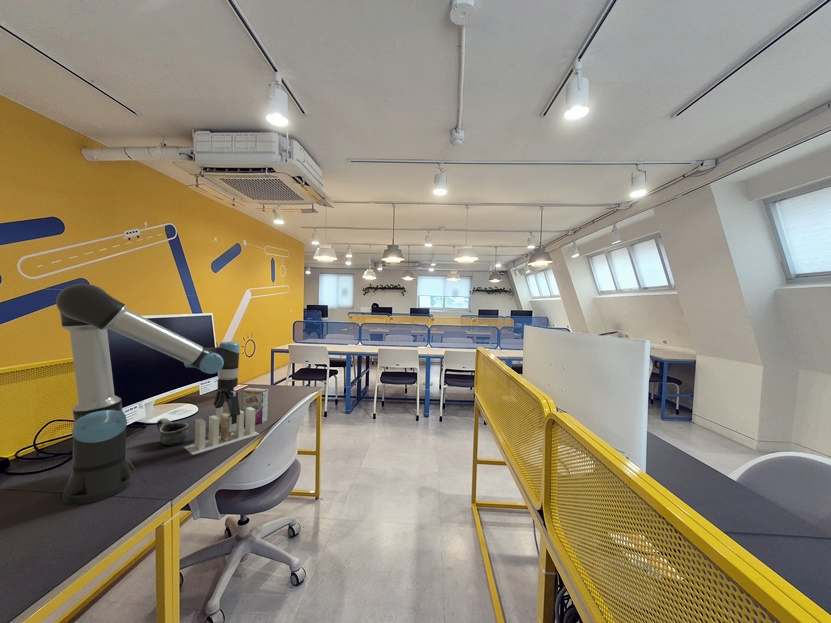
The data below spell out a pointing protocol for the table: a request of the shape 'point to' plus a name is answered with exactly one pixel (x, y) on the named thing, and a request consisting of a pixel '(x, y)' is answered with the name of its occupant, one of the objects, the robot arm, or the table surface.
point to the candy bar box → (256, 403)
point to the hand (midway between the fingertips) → (225, 426)
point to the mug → (172, 431)
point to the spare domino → (225, 427)
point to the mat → (208, 446)
